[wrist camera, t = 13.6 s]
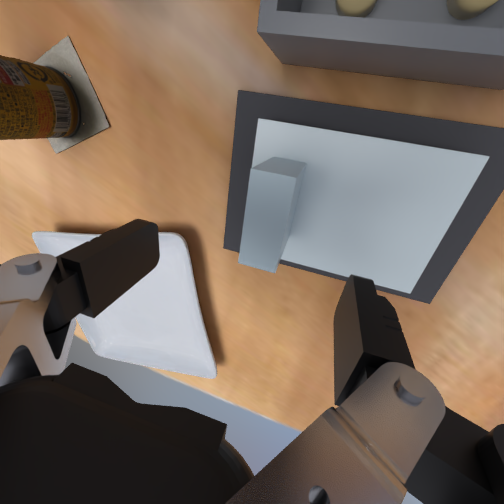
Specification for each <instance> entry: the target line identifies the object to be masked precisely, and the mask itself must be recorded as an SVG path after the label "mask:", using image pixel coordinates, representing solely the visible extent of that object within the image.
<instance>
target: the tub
mask: <svg viewBox="0 0 504 504" xmlns="http://www.w3.org/2000/svg"><path fill="white" fill-rule="evenodd" d="M257 32H258V34H259V35H260V36H261V37H262V39H263V40H264V41H265V42H266V44H267V45H268V46H269V48H270V49H271V50H272V51H273V53H274V54H275V55H276V56H277V58H278V59H279V60H280V61H281V63H282V64H290V65H298V66H306V67H315V68H323V69H332V70H340V71H348V72H357V73H365V74H373V75H382V76H390V77H398V78H407V79H415V80H423V81H432V82H440V83H448V84H457V85H465V86H473V87H482V88H490V89H498V90H504V0H261V1H260V10H259V19H258V27H257Z"/></svg>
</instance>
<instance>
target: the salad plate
mask: <svg viewBox="0 0 504 504" xmlns="http://www.w3.org/2000/svg"><path fill="white" fill-rule="evenodd" d="M158 234H159V250H160V258H159V262H158V264H157V266H156V267H155V268H154V269H153V270H152V271H151V272H150V273H148V274H147V275H146V276H145V277H144V278H142V279H141V280H140V281H139V282H138V283H136V284H135V285H134V286H133V287H131V288H130V289H129V290H128V291H127V292H125V293H124V294H123V295H122V296H121V297H119V298H118V299H117V300H116V301H115V302H113V303H112V304H111V305H110V306H109V307H107V308H106V309H105V310H104V311H103V312H101V313H100V314H99V315H98V316H96V317H95V318H91V317H89V316H86V315H83V314H78V315H77V316H76V317H75V318H76V319H77V321H78V323H79V325H80V327H81V329H82V331H83V332H84V334H85V336H86V338H87V340H88V342H89V343H90V345H91V347H92V349H93V350H94V352H95V353H96V354H97V355H99V356H102V357H105V358H109V359H114V360H119V361H123V362H128V363H132V364H137V365H142V366H147V367H152V368H157V369H163V370H168V371H173V372H178V373H183V374H188V375H193V376H198V377H204V378H210V379H214V378H216V376H217V366H216V362H215V358H214V355H213V352H212V349H211V345H210V342H209V339H208V335H207V332H206V328H205V324H204V321H203V317H202V313H201V309H200V305H199V300H198V295H197V291H196V286H195V280H194V275H193V269H192V264H191V259H190V254H189V249H188V245H187V243H186V240H185V239H184V237H183V236H182V235H180V234H178V233H174V232H158ZM99 235H101V234H80V233H65V232H52V231H36V232H33V233H32V238H33V240H34V242H35V244H36V246H37V247H38V249H39V251H40V253H43V254H50V255H53V256H54V257H56V256H58V255H61V254H63V253H65V252H67V251H69V250H71V249H73V248H75V247H77V246H79V245H81V244H83V243H85V242H87V241H90V240H91V239H93V238H95V237H99Z"/></svg>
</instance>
